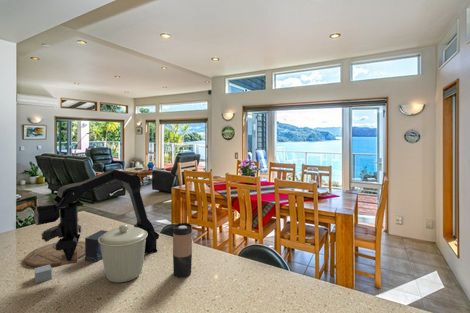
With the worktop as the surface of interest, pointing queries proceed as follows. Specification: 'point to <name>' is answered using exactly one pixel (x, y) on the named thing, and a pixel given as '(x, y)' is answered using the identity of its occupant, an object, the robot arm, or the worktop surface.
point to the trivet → (50, 255)
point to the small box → (93, 247)
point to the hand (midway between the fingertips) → (70, 257)
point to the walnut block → (73, 260)
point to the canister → (123, 252)
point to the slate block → (43, 273)
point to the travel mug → (182, 249)
